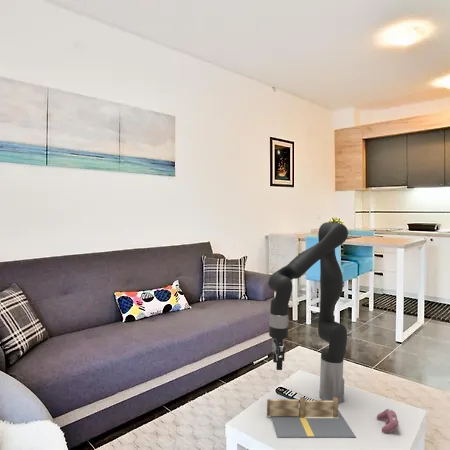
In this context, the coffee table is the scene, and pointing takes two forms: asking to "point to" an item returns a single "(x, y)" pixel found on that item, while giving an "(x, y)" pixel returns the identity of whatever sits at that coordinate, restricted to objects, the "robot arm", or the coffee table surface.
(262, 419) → the coffee table surface
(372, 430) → the coffee table surface
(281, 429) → the card
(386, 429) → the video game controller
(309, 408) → the wooden toy fence
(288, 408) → the fence panel
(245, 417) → the coffee table surface
